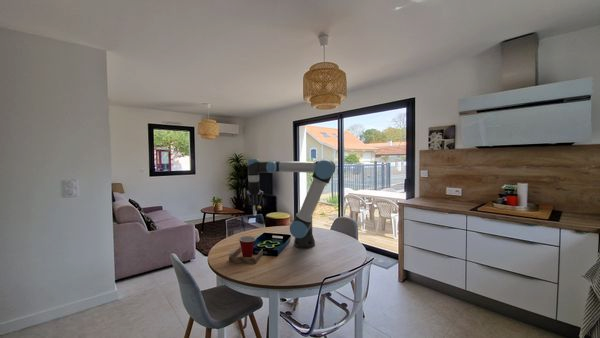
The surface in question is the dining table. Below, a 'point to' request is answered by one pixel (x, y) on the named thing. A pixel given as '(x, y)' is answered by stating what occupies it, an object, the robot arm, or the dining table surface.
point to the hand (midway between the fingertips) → (254, 215)
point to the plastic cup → (247, 245)
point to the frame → (244, 259)
